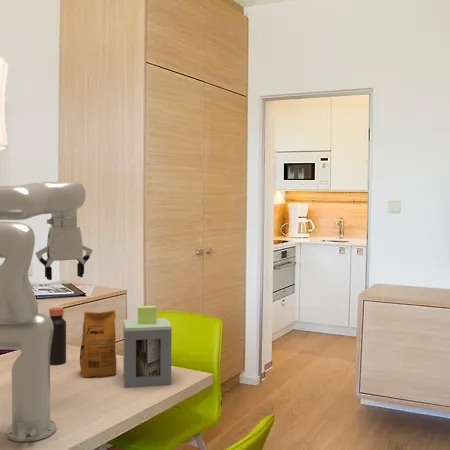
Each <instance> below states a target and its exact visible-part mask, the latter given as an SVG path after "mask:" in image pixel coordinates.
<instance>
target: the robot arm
mask: <svg viewBox="0 0 450 450" xmlns="http://www.w3.org/2000/svg"><path fill="white" fill-rule="evenodd" d="M86 198H87V197H86V190H85V187H84V186H83V184H82V183H80V182H77V181H42V182H32V183H27V184H20V185H0V259H4V260H3V262H2V263H1V264H0V350H10V351H12V350H13V351H14V350H16V351H20V354H19V356H18V357H17V358H16V359H15V360H14V362H13V363H12V367H11V424H10V425H9V426H7V427H6V429H5V436H6V437H7V439H9V440H11V441H15V442H21V443H23V442H24V443H26V442H34V441H39V440H43V439H46V438H48V437H50V436H52V435H53V434H54V433H56V431H57V423H56V421H55V420H52V419H51V365H50V351H51V343H52V337H53V330H54V326H53V322H52V320H51V318H50V316H48V315H46V314H43V313H39V303H38V301H37V297H36V295H35V292H34V289H33V287H32V284H31V281H30V279H29V270H30V267H31V264H32V259H33V256H34V251H35V245H36V236H35V235H36V234H35V232H34V230H33V228H32V227H31V226H30V225H29V224H26V223H22V222H19V221H23V220H27V219H28V220H29V219H31V218H34V217H36V216H40V215H49V214H51V215H50V218H49V219H46V224H47V225H48V224H49V225H50V226H49V228H48V232H47V233H48V234H47V243H46V246H45V247H43V248H41V249H39V250H38V251H36V252H35V255H36V257H37V259H38V261H39V263H41V264H42V265H43V266H44V277H45V278H46V279H47V280H48V281H52V279H53V272H52V271H53V268H52V267H51V265H52V264H53V263H54V262H55V261H57V262H58V261H59V262H61V261H72V260H74V261H75V260H77V264H76V268H77V269H76V270H77V272H76V273H77V277H79V278H84V274H85V265H86V263H87V261H88V260H89V259H90V256H91V255H92V252H93V249H92V248H89V247H87V246H86V245H84V244H83V237H82V231H81V227H80V226H78V209H80V208H81V207H83V205H84V204H85V202H86ZM84 252H85V254H84ZM44 254H46V257H47V258H46V259H44V257H43V255H44Z"/></svg>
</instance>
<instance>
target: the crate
mask: <svg viewBox="0 0 450 450" xmlns="http://www.w3.org/2000/svg"><path fill="white" fill-rule="evenodd" d="M172 329H173V328H172ZM172 329H169V330H145V331H125V328H124V327H123V346H122V347H123V353H122V355H123V356H122V357H123V361H122V362H123V364H122V365H123V367H122V368H123V372H122V373H123V383H124V388H139V387H154V386H170V385H172ZM147 339H160V375H159V376H149V377H147V376H142V377H136V340H147Z"/></svg>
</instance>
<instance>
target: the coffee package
mask: <svg viewBox="0 0 450 450" xmlns="http://www.w3.org/2000/svg"><path fill="white" fill-rule="evenodd" d="M83 316H84V317H83V327H82V336H81V338H82V340H81V344H80V351H79V366H80V367H79V368H80V376H82V378H85V379H86V378H92V377H97V378H104V377H105V378H106V377H110V376H114V375H116V372H117V355H116V310H115V309H113V310H108V311H103V312H102V311H101V312H94V311H84V315H83Z"/></svg>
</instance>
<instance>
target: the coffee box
mask: <svg viewBox="0 0 450 450" xmlns="http://www.w3.org/2000/svg"><path fill="white" fill-rule="evenodd" d="M159 375H160V339H147V340H136V377H142V376H147V377H149V376H159Z"/></svg>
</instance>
